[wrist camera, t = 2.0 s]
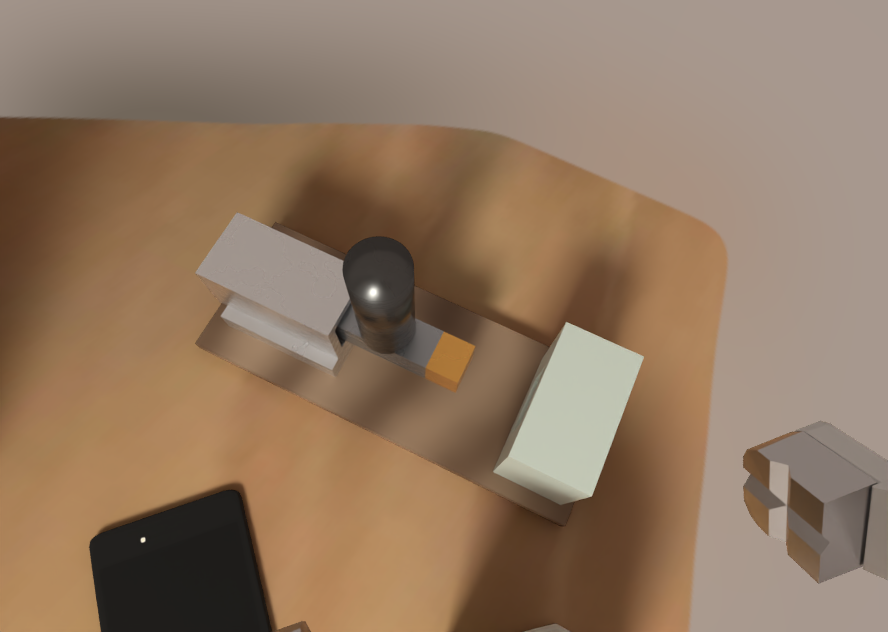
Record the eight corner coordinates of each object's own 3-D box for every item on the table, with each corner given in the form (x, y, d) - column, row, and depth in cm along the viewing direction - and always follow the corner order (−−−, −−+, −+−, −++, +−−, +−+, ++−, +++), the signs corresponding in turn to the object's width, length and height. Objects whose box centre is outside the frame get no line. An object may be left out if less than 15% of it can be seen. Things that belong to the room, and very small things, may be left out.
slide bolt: (234, 294, 38) (169, 208, 28) (262, 253, 39) (208, 156, 29) (452, 398, 36) (464, 345, 26) (475, 352, 37) (493, 284, 27)
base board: (200, 348, 40) (195, 343, 39) (278, 228, 44) (275, 222, 43) (561, 526, 37) (565, 525, 36) (616, 383, 40) (621, 379, 39)
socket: (492, 471, 37) (508, 456, 30) (541, 359, 40) (566, 321, 33) (560, 504, 37) (591, 496, 30) (605, 388, 39) (644, 356, 32)
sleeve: (221, 321, 40) (186, 284, 34) (269, 249, 42) (244, 201, 36) (335, 377, 39) (320, 348, 33) (379, 300, 41) (372, 259, 35)
